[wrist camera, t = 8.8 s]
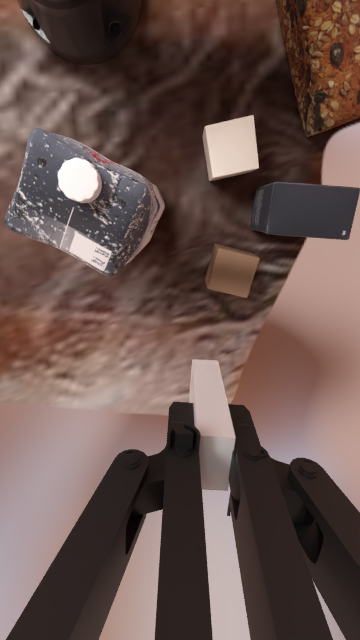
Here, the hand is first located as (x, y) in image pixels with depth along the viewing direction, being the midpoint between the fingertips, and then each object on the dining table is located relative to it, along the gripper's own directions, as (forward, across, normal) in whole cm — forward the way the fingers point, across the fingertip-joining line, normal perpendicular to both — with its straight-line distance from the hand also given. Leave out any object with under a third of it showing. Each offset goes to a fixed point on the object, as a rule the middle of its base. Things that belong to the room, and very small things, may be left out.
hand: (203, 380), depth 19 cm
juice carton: (+35, -10, +9) cm, 37 cm away
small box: (+35, +14, +10) cm, 39 cm away
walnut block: (+35, +6, +1) cm, 35 cm away
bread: (+35, +15, +30) cm, 48 cm away
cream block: (+35, +4, +17) cm, 39 cm away
